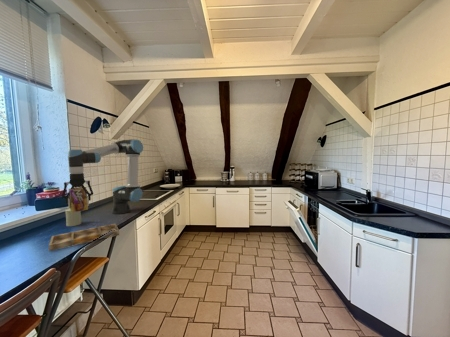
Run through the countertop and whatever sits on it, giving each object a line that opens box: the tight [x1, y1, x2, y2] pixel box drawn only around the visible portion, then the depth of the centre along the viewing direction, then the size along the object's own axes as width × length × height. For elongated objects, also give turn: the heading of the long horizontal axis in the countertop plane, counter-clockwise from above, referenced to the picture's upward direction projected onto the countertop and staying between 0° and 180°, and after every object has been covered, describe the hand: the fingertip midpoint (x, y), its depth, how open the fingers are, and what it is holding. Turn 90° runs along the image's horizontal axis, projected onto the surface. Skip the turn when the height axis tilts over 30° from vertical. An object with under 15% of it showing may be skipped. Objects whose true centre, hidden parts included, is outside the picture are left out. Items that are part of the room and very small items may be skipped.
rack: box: [48, 223, 120, 252], centre depth 123 cm, size 34×15×4 cm, turn 126°
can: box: [64, 208, 83, 227], centre depth 148 cm, size 9×9×12 cm
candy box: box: [68, 186, 89, 212], centre depth 131 cm, size 9×4×15 cm, turn 140°
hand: (79, 206), depth 131 cm, fingers closed on candy box, 9 cm apart
